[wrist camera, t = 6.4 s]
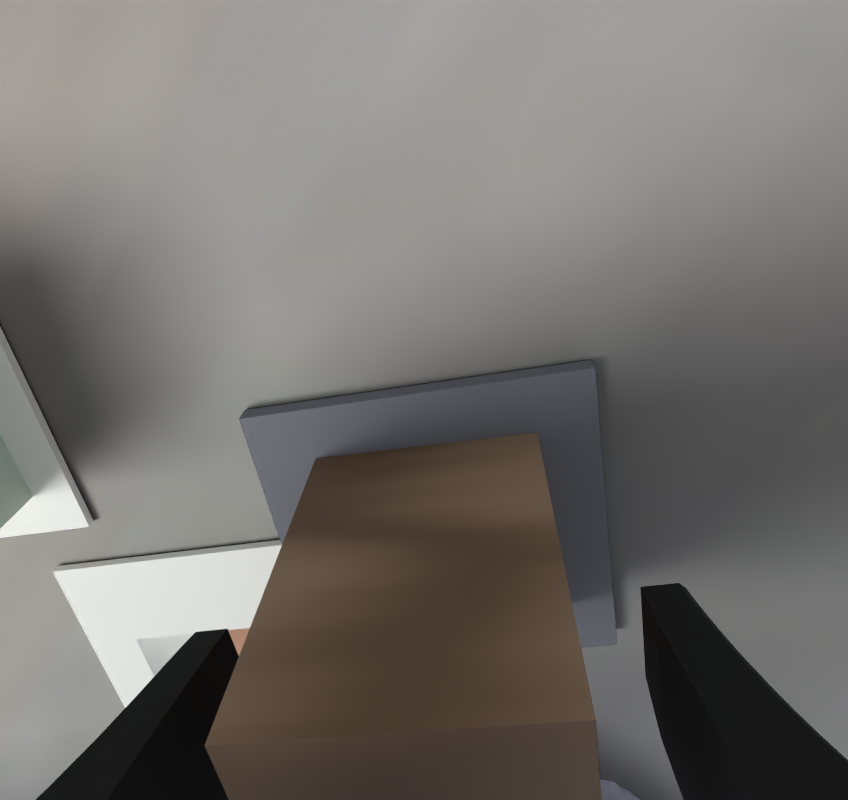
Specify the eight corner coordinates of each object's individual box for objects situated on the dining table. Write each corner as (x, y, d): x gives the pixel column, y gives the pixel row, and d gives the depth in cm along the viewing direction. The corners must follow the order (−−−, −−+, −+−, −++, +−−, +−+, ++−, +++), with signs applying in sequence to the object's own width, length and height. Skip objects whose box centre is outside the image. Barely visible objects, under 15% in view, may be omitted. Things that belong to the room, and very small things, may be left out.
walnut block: (360, 623, 16) (298, 952, 10) (315, 458, 14) (204, 745, 8) (555, 606, 15) (613, 945, 9) (536, 432, 13) (595, 719, 7)
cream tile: (152, 747, 19) (149, 753, 18) (57, 566, 16) (52, 571, 16) (377, 729, 18) (376, 736, 18) (317, 535, 15) (315, 541, 15)
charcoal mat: (327, 657, 17) (324, 670, 16) (244, 409, 14) (239, 419, 13) (613, 631, 16) (617, 644, 15) (591, 359, 13) (595, 367, 12)
